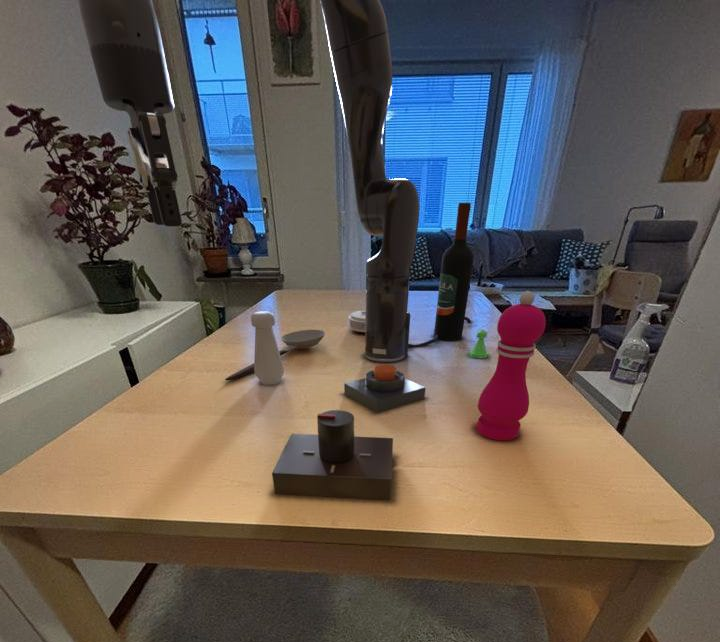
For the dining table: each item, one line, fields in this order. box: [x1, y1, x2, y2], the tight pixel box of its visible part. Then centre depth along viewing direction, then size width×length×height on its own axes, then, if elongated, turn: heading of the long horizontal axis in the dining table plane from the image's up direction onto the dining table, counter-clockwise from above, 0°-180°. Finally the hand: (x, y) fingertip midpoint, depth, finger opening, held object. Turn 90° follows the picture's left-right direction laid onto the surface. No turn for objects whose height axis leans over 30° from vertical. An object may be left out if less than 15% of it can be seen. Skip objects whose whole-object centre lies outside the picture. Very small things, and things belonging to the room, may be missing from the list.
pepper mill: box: [476, 290, 547, 441], centre depth 56 cm, size 7×7×20 cm
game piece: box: [468, 329, 489, 359], centre depth 92 cm, size 4×4×6 cm
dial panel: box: [271, 433, 394, 501], centre depth 50 cm, size 14×10×3 cm
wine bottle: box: [433, 202, 474, 342], centre depth 99 cm, size 8×8×30 cm
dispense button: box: [373, 364, 397, 380], centre depth 70 cm, size 4×4×2 cm
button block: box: [343, 370, 426, 414], centre depth 72 cm, size 11×10×4 cm
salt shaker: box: [250, 310, 285, 386], centre depth 75 cm, size 6×6×13 cm
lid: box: [347, 309, 366, 333], centre depth 112 cm, size 13×13×5 cm
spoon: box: [224, 329, 326, 381], centre depth 90 cm, size 11×33×3 cm, turn 152°
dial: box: [316, 409, 355, 463], centre depth 48 cm, size 4×4×5 cm
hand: (167, 225), depth 53 cm, fingers open, 8 cm apart
